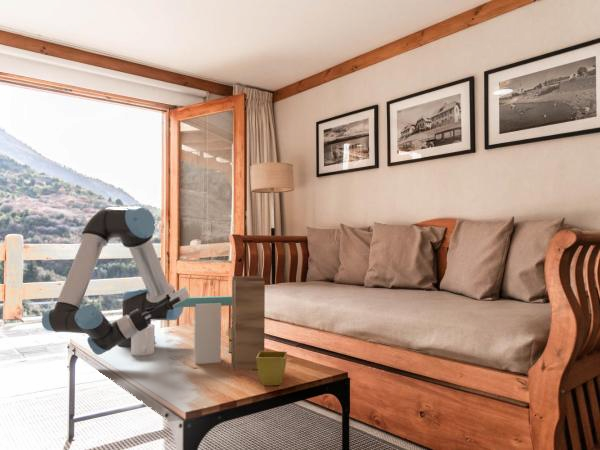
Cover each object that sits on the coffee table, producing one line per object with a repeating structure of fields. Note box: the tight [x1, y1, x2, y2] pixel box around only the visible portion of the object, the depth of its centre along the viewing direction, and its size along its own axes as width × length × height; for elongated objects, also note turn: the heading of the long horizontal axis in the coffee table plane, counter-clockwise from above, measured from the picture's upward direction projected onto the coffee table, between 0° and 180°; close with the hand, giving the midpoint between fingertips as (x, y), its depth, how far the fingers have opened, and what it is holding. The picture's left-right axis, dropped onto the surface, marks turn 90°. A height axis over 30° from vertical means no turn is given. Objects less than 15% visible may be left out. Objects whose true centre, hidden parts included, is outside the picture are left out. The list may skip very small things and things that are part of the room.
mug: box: [130, 323, 155, 357], centre depth 181 cm, size 9×12×11 cm
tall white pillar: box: [193, 303, 222, 365], centre depth 172 cm, size 8×9×21 cm
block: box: [172, 295, 232, 308], centre depth 173 cm, size 3×25×3 cm, turn 105°
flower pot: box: [256, 350, 288, 386], centre depth 144 cm, size 9×9×9 cm
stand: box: [230, 275, 266, 372], centre depth 164 cm, size 10×10×31 cm
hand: (187, 291), depth 171 cm, fingers open, 13 cm apart
